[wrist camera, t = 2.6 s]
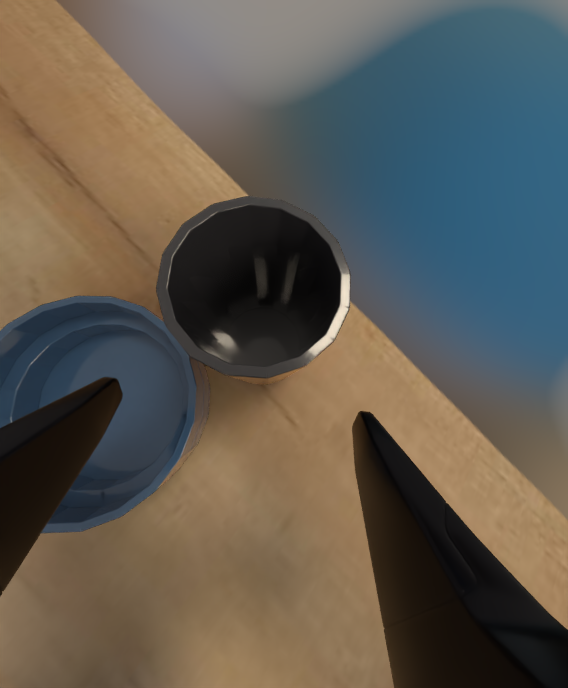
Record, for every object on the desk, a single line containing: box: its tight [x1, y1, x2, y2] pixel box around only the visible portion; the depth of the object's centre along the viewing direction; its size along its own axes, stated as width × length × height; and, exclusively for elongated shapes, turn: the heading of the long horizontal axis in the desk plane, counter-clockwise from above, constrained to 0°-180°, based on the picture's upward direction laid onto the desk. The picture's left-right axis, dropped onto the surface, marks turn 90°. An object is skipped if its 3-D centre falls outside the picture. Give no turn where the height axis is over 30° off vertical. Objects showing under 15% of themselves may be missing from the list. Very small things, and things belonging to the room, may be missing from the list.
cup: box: [156, 196, 351, 385], centre depth 15 cm, size 7×7×12 cm
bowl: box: [0, 296, 210, 533], centre depth 17 cm, size 14×14×4 cm
